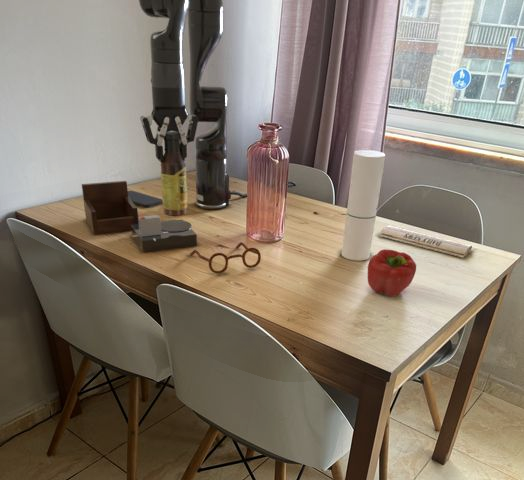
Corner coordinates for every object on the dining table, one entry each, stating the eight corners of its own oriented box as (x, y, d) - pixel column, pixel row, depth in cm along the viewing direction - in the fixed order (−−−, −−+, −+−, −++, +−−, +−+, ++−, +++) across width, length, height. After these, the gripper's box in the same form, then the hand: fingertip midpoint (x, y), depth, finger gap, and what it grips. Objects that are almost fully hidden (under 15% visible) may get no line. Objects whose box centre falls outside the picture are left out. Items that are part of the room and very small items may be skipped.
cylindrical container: (371, 252, 141) (387, 152, 128) (366, 262, 136) (382, 158, 122) (344, 247, 143) (357, 148, 130) (338, 257, 137) (351, 154, 124)
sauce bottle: (185, 218, 139) (182, 136, 128) (161, 217, 139) (155, 135, 128) (189, 210, 144) (186, 130, 134) (165, 209, 144) (160, 129, 134)
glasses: (210, 276, 125) (209, 256, 122) (189, 255, 135) (188, 236, 132) (261, 267, 130) (262, 247, 128) (237, 248, 140) (238, 229, 137)
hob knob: (159, 231, 139) (157, 213, 136) (161, 234, 138) (160, 216, 135) (139, 234, 137) (138, 215, 135) (141, 236, 136) (140, 218, 133)
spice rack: (128, 215, 158) (125, 180, 152) (139, 229, 148) (136, 192, 143) (86, 219, 153) (81, 184, 148) (94, 234, 144) (89, 196, 139)
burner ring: (185, 219, 148) (185, 218, 148) (196, 229, 141) (196, 229, 141) (153, 222, 145) (153, 221, 145) (162, 233, 138) (162, 233, 138)
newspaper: (471, 250, 146) (472, 243, 145) (462, 258, 141) (464, 251, 140) (389, 229, 156) (390, 223, 156) (378, 236, 151) (379, 230, 151)
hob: (182, 230, 150) (182, 218, 148) (198, 247, 140) (198, 235, 138) (125, 236, 144) (124, 224, 142) (137, 254, 134) (136, 242, 132)
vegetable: (420, 302, 118) (429, 259, 113) (375, 305, 116) (383, 261, 111) (399, 280, 127) (407, 240, 122) (357, 283, 125) (363, 241, 120)
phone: (130, 190, 175) (164, 199, 168) (131, 192, 176) (164, 202, 168) (112, 195, 170) (146, 205, 163) (113, 197, 171) (146, 208, 163)
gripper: (141, 86, 120) (147, 166, 129) (203, 85, 125) (204, 162, 134) (133, 82, 125) (139, 158, 135) (192, 81, 131) (194, 155, 140)
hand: (171, 160), depth 134 cm, fingers closed on sauce bottle, 4 cm apart
